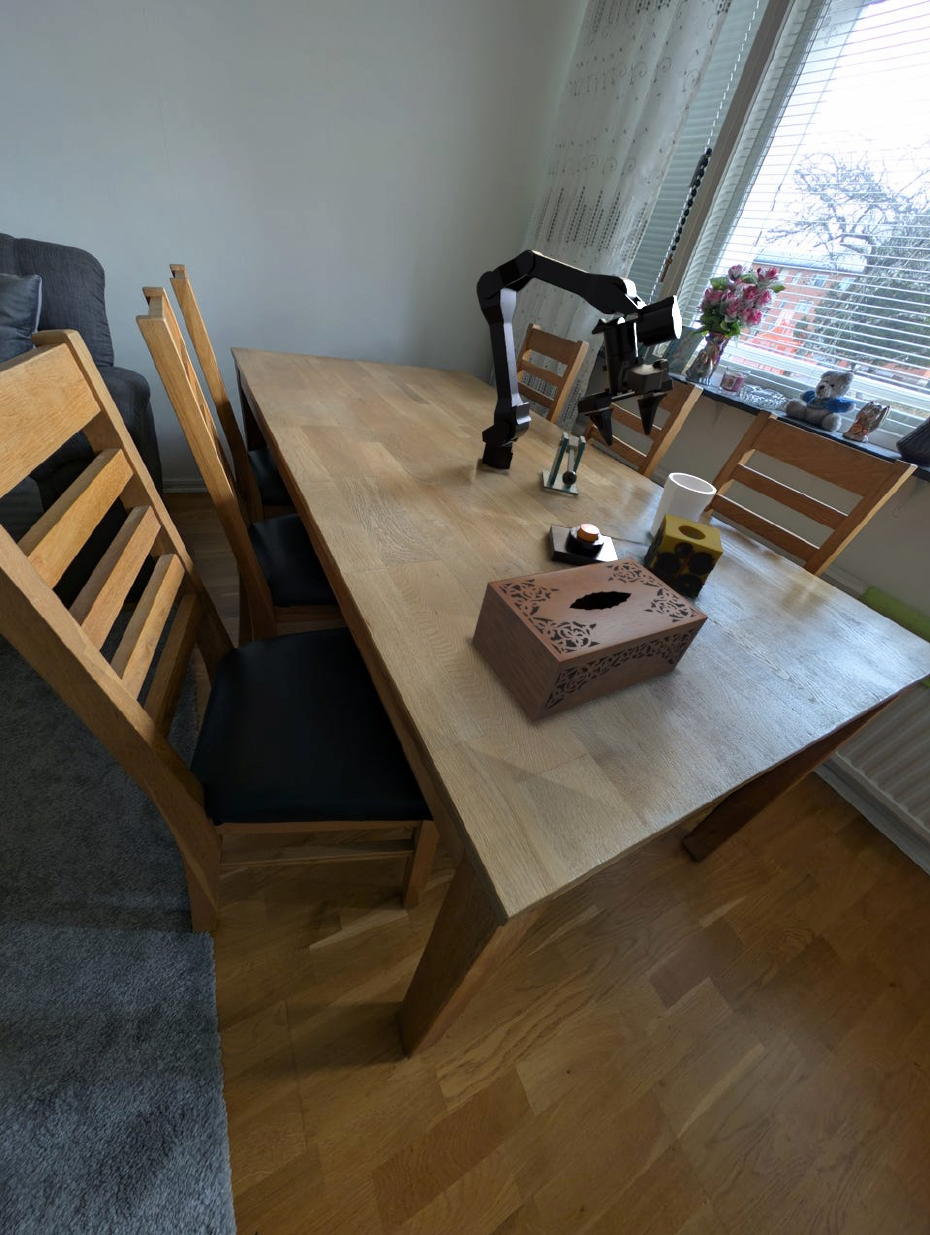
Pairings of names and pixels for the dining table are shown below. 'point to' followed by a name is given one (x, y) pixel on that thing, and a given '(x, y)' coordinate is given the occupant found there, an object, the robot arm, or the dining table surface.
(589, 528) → the button
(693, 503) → the foam cup
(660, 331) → the robot arm
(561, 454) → the teal pendulum stand
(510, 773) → the dining table surface
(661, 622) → the tissue box cover
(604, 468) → the dining table surface
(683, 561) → the yellow cube tissue box
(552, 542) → the button box
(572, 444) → the lever
